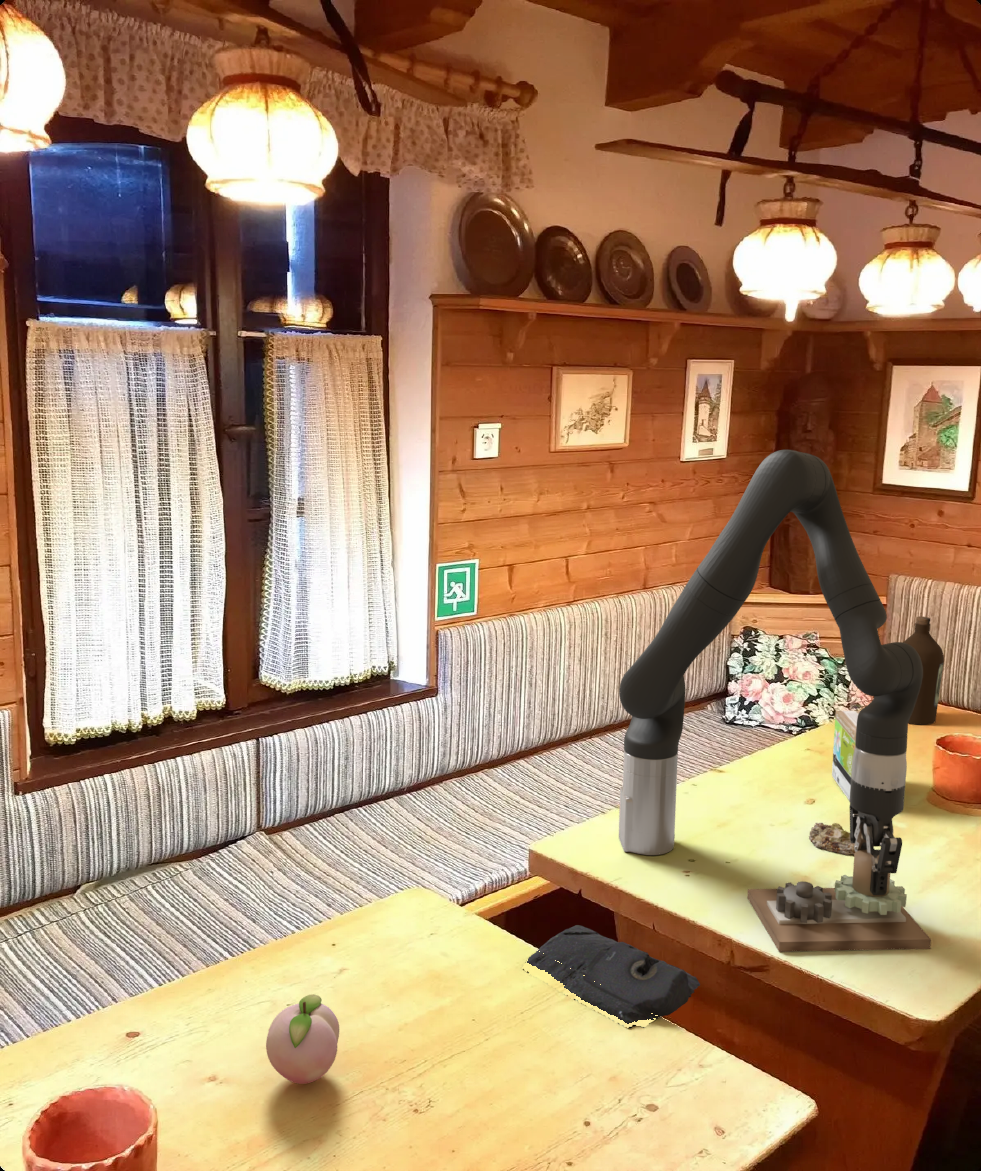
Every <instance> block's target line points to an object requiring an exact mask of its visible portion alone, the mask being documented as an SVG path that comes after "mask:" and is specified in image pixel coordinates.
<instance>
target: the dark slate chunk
mask: <svg viewBox="0 0 981 1171" xmlns="http://www.w3.org/2000/svg"><path fill="white" fill-rule="evenodd" d="M537 950H538V951H537ZM537 950H536V951H535V952H534V953H532V954H531V955H530V956H529V957H528V958H527V959H528V961H527V960H526V961H527V963H529V964H531V965H532V966H536V967H537V968H538V969H540V970H545V972H548V974H551V976H552V977H554V979H556V980H557V981H560V983H563V985H565V986H564V988H566V989H568V990H569V991H570V992H571V993H574V994H576V996H578V997H580V998H581V1000H584V1001H585V1002H588V1003H590V1004H591V1005H593V1006H597V1007H598V1008H599V1009H601V1010H603V1011H606V1012H607V1013H608V1014H610V1015H614V1016H616V1017H618V1019H620V1020H623V1021H624V1022H625V1023H627V1024H629V1023H632V1022H634V1021H635V1022H637V1021H638V1020H647V1019H648V1020H649V1019H651V1020H654V1019H653V1018H656V1020H658V1019H659V1018H662V1017H665V1016H670V1015H671V1014H673V1013H674V1012H676V1011H678V1010H679V1009H680V1008H681V1007H682V1006H684V1005H685V1004H686V1003H688V1002H689V999H690V998H692V994H694V993H695V990H696V989H698V987H700V986H701V983H700V982H699V980H698V978H697V977H696V976H693V975H691V974H690V973H688V972H687V971H686V970H684V969H681V968H679V967H678V966H676V965H672V964H669V963H667V962H666V961H664V960H660V959H657V958H654V957H652V956H650V954H649V952H646V951H643V950H640V949H638V947H635V946H633V945H631V944H629V943H627V942H624V941H619V942H618V941H616V940H615V939H612V938H608V937H606V936H604V935H602V934H600V933H599V932H598V931H595V930H593V929H591V928H588V927H585V926H583V925H579V924H576V925H574V926H572V927H569V928H566V929H564V930H563V931H561V932H559V933H557V934H556V935H555V936H552V937H551V938H549V940H547V941H546V942H545V943H544V944H543V945H541V946H540V947H539V948H538V949H537ZM539 951H540V952H539ZM543 953H544V954H543ZM555 960H556V961H555ZM557 961H559V962H560V963H559V962H557ZM561 963H562V964H561ZM570 968H571V969H570ZM583 975H585V976H583ZM594 981H595V982H594ZM600 984H601V985H600ZM651 1013H653V1014H651ZM655 1015H658V1016H655ZM658 1017H659V1018H658Z"/></svg>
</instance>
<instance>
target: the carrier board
mask: <svg viewBox="0 0 981 1171" xmlns="http://www.w3.org/2000/svg"><path fill="white" fill-rule="evenodd" d="M784 886H785V887H783V886H778V887H777V888H749V889H748V888H747V897H746V898H747V900H748V902H749V903H750V905H751V907H752V908H753V910H754V912H755V913H756V915H757V917H758V919H759V921H760V922H761V924H762V926H763V927H764V929H765V930H766V932H767V934H768V936H769V937H770V939H771V941H772V942H773V944H774V946H775V947H776V949H777V951H778V953H781V952H784V953H785V952H786V953H787V952H826V951H827V952H829V951H831V952H832V951H833V952H834V951H836V952H837V951H840V952H841V951H883V950H884V951H885V950H888V951H889V950H890V951H891V950H931V943H932V938H931V937H930V936H929V935H928V934H927V933H926V931H925V930H924V929H923V928H922V927H921V925H920V924H918V923H917V921H916V920H915V919H914V918H913V916H911V914H909V912H908V911H907V909H905V907H902V906H901V911H900V912H898V913H896V912H894V911H887V915H880V914H879V912H878V911H872V912H868V914H867V913H863V912H862V909H860V908H858V907H852V908H848V907H846V906H845V900H837V899H836V892H834V891H835V887H821V886H820V885H816V886H814V884H812V883H811V882H808V881H803V880H802V881H798V882H796V884H793V883H792V882H786V883H785V885H784Z"/></svg>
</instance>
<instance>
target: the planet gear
mask: <svg viewBox="0 0 981 1171" xmlns="http://www.w3.org/2000/svg"><path fill="white" fill-rule="evenodd" d="M853 857H854V859H853V868H852V876H851V875H850V876H849V875H847V874H844V875H841V876H840V880H837V879H836V880H835V882H834V888H835V891H834V892H836V899H837V900H845V906H846V907H848V908H852V907H858V908H860V909H862V912H863V913H867V914H868V912H872V911H878V912H879V914H880V915H887V911H894V912H896V913H898V912H900V911H901V906H902V907H903V908H906V905H907V895H908V894H906V893H905V892H906V891H905V890H906V889H905V887H904V886H902V885H899V886H898V885H897V886H896V885H895V880H893V879H891V873H888V880H887V892H886V894H885V895H873V894H872V893H871V892H870V883H871V870H872V864H871V856H870V855H869V854H868V853H867V850H859V851H857V852H856V853H855V854H854V855H853ZM878 859H879V855H878V856H877V860H878Z"/></svg>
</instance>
